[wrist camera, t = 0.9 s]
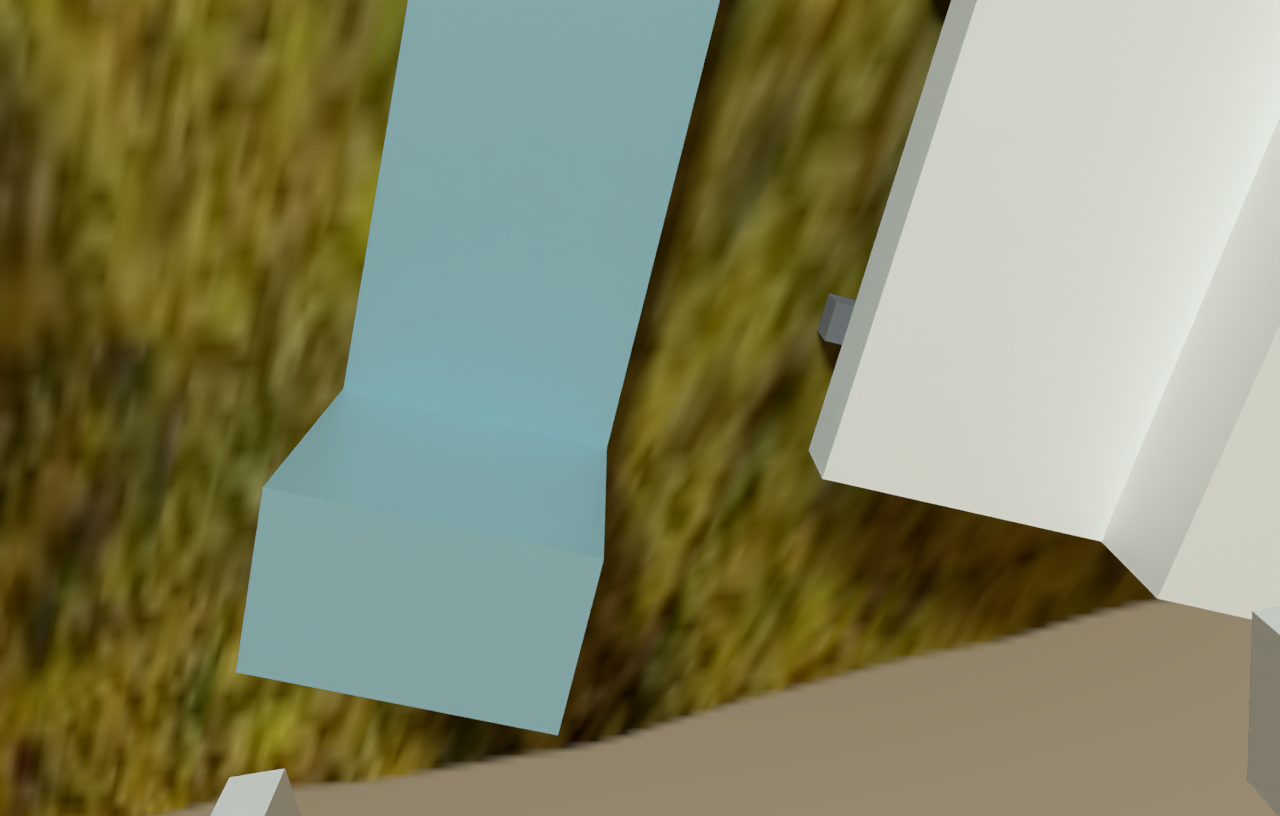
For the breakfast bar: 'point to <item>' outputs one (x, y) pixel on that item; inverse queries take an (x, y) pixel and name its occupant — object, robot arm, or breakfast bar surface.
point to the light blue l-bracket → (481, 362)
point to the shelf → (1083, 290)
